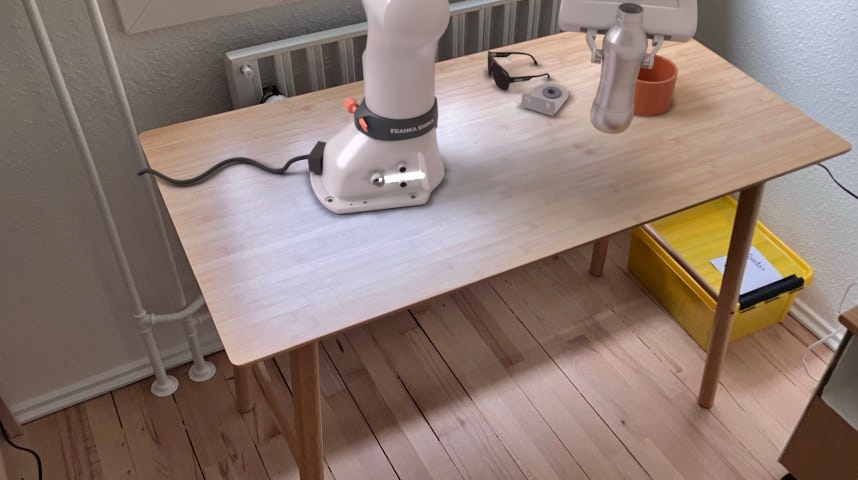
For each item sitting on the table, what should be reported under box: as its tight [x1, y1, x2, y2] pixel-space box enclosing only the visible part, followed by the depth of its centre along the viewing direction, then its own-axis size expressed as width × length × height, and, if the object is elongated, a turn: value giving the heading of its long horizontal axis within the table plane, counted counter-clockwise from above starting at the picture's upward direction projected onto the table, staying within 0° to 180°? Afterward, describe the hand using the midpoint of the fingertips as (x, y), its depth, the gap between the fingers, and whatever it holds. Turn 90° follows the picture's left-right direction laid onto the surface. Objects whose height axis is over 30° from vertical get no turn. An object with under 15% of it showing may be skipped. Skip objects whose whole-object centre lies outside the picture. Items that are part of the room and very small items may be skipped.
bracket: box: [521, 82, 570, 117], centre depth 159 cm, size 7×10×4 cm, turn 153°
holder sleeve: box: [634, 52, 679, 117], centre depth 159 cm, size 11×11×7 cm
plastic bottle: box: [589, 3, 649, 135], centre depth 124 cm, size 6×7×20 cm
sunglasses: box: [487, 50, 551, 91], centre depth 165 cm, size 10×12×5 cm
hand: (621, 65), depth 123 cm, fingers closed on plastic bottle, 6 cm apart
